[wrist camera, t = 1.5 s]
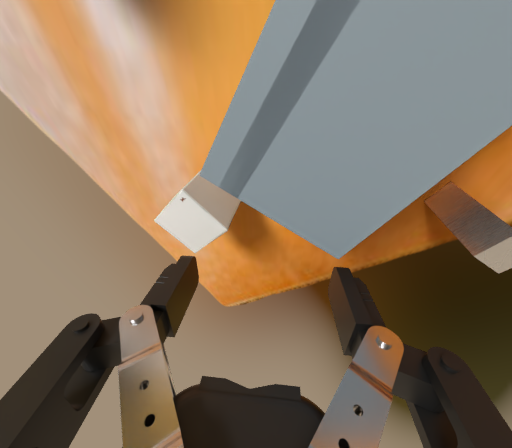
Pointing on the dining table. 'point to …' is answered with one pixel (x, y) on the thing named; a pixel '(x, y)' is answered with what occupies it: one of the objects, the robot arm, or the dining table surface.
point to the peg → (474, 226)
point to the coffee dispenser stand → (362, 110)
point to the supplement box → (198, 213)
